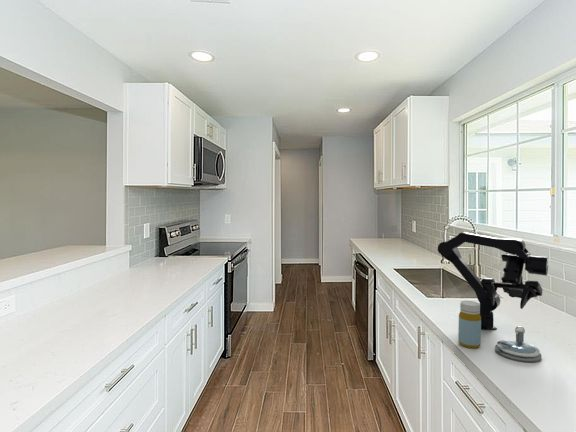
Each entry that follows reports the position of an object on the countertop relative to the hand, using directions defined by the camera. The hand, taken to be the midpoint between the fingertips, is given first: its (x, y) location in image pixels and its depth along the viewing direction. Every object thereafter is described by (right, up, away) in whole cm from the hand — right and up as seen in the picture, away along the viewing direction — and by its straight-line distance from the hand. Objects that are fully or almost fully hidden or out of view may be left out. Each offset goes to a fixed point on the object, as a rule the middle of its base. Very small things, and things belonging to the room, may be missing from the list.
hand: (506, 306), depth 129 cm
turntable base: (-2, -13, -9) cm, 16 cm away
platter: (-2, -12, -9) cm, 15 cm away
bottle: (-14, -13, -1) cm, 20 cm away
